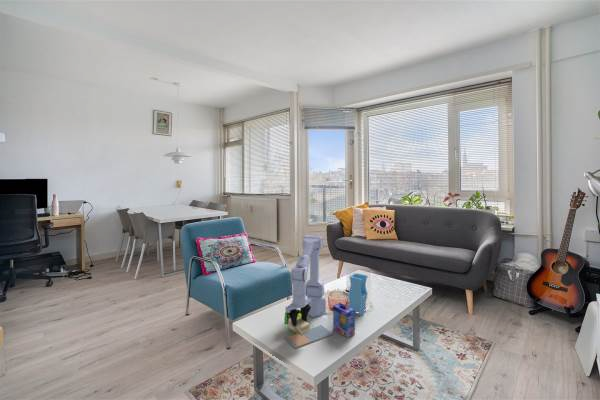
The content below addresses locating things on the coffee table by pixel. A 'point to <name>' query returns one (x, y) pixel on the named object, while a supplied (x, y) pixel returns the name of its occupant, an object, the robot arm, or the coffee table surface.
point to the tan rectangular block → (299, 326)
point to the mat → (308, 336)
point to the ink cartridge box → (344, 319)
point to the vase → (358, 293)
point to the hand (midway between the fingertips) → (299, 323)
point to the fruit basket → (289, 316)
